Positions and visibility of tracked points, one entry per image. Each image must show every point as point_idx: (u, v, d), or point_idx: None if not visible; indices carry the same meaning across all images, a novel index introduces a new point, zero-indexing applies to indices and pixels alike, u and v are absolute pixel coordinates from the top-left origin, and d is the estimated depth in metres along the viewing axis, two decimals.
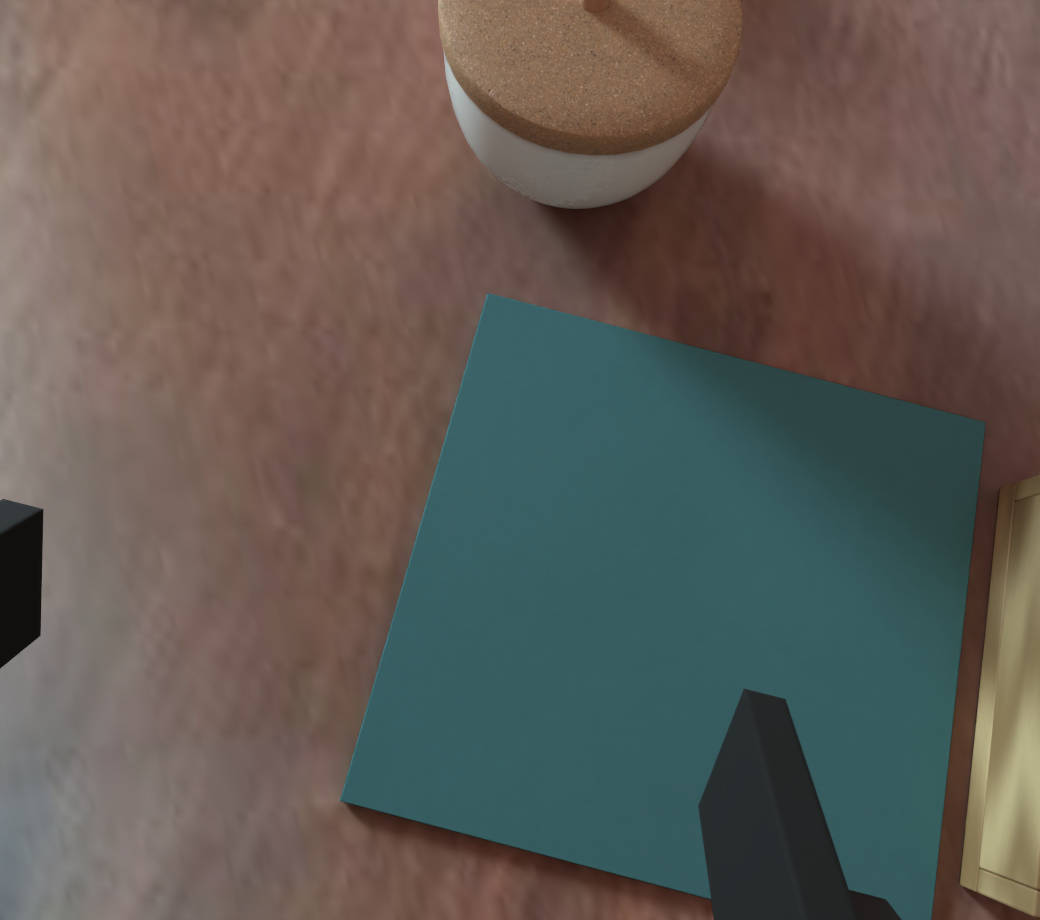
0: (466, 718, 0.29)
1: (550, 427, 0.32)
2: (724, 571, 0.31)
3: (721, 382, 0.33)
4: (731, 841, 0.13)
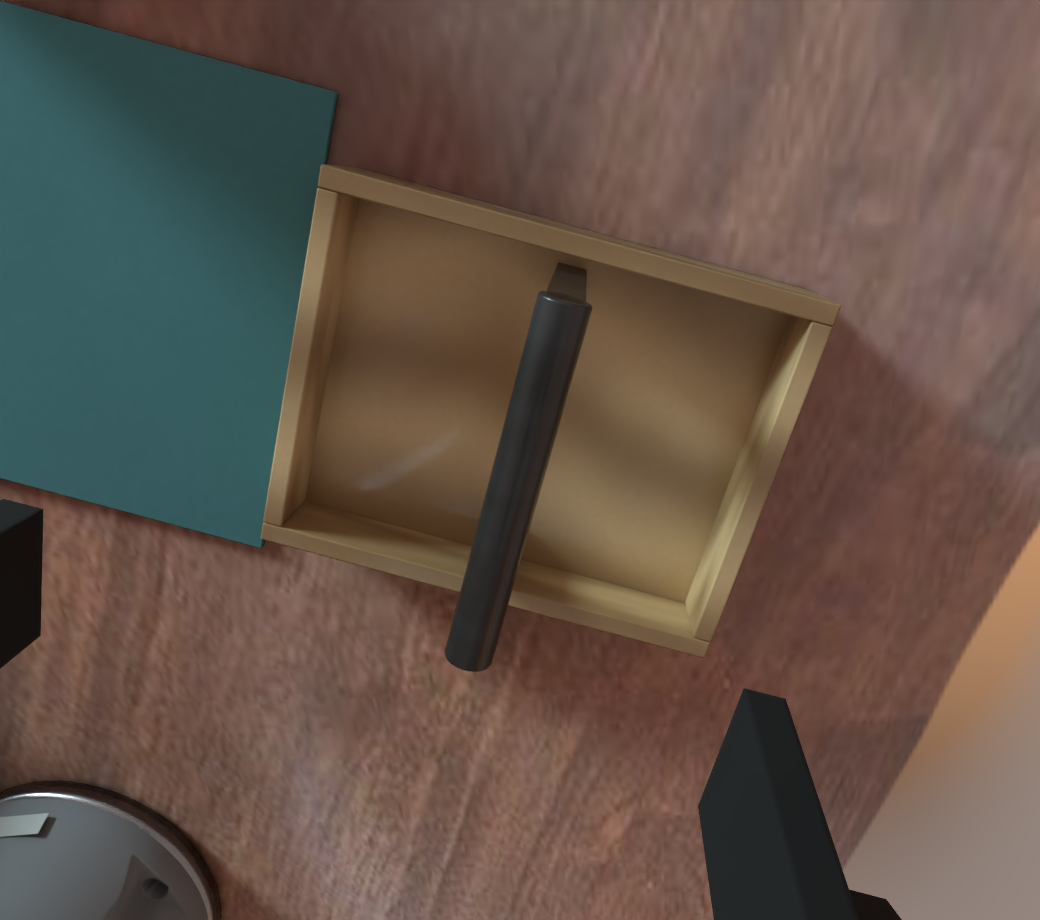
0: None
1: None
2: (83, 254, 0.34)
3: (59, 51, 0.32)
4: (731, 841, 0.13)
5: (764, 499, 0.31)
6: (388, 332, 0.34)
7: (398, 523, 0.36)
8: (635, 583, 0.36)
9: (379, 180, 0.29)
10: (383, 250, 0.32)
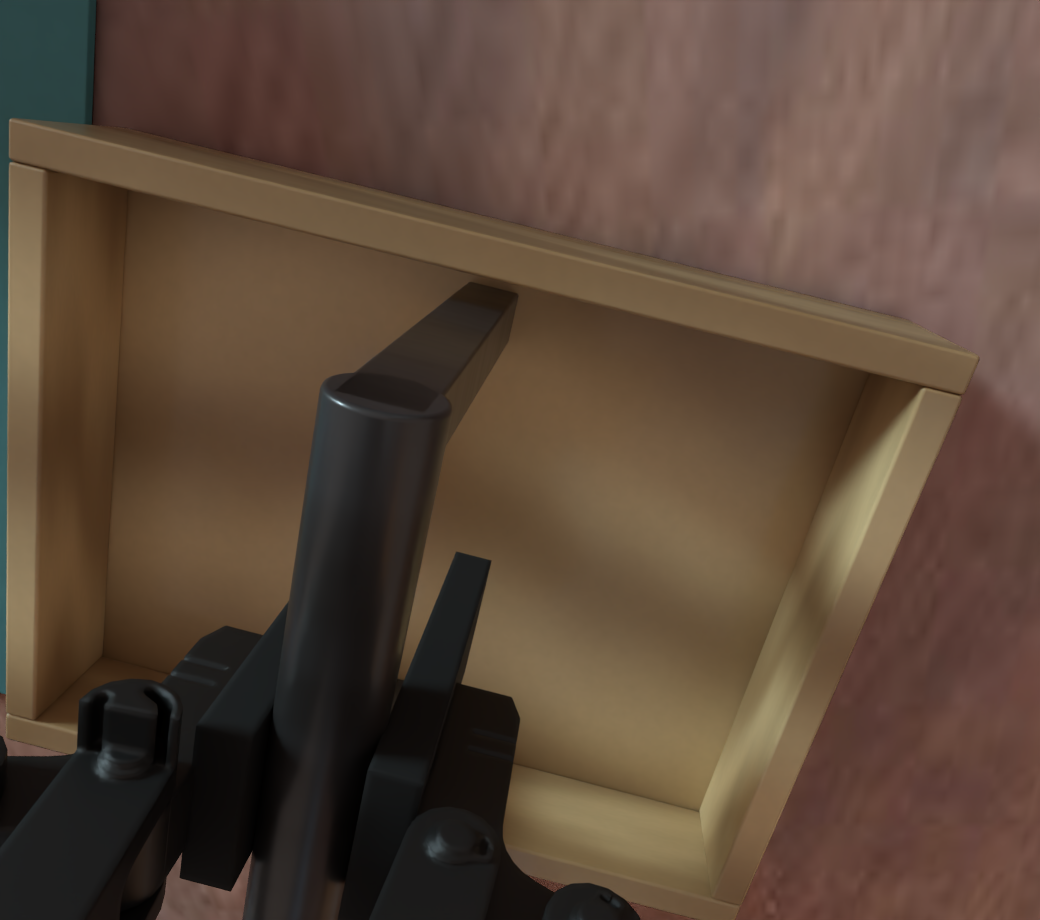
0: None
1: None
2: None
3: None
4: None
5: (832, 690, 0.18)
6: (201, 401, 0.20)
7: None
8: (619, 781, 0.23)
9: (116, 144, 0.16)
10: (178, 268, 0.19)
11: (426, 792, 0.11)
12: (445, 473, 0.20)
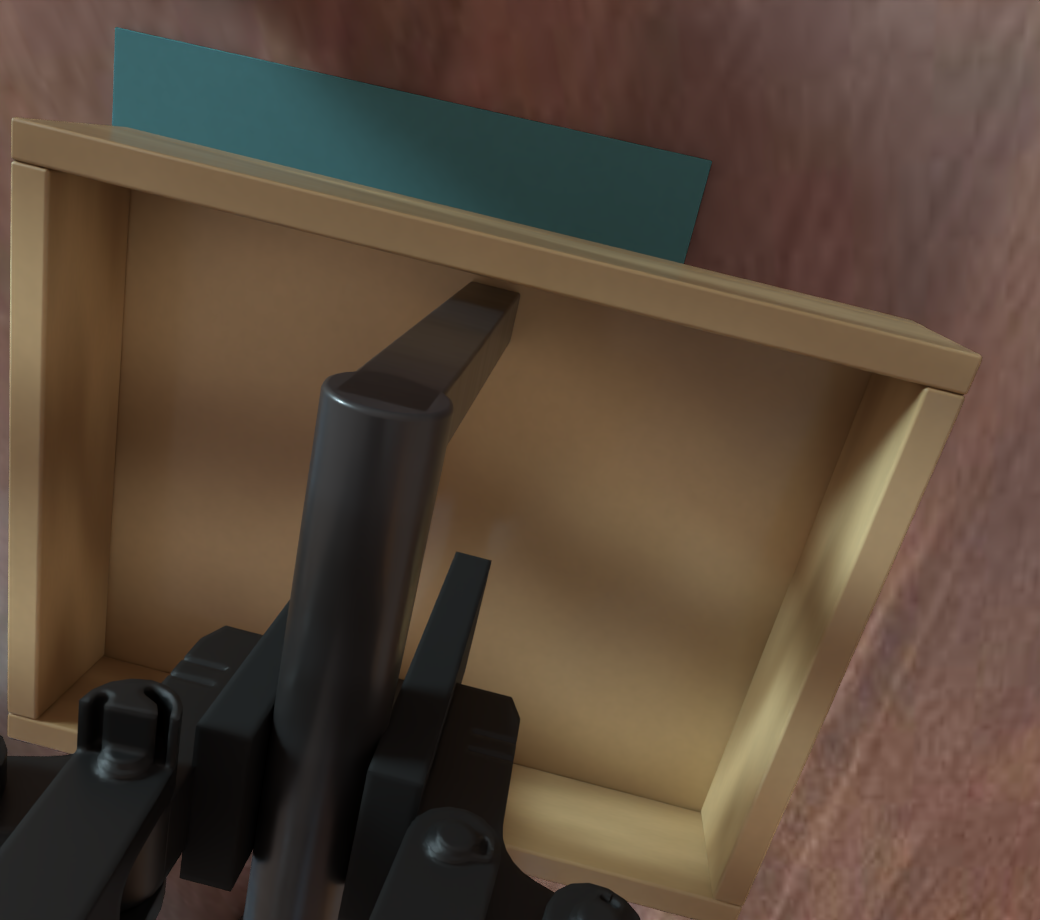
0: None
1: None
2: None
3: (394, 129, 0.28)
4: None
5: (834, 690, 0.18)
6: (203, 400, 0.20)
7: None
8: (621, 782, 0.23)
9: (118, 144, 0.16)
10: (180, 267, 0.19)
11: (426, 792, 0.11)
12: (447, 473, 0.20)
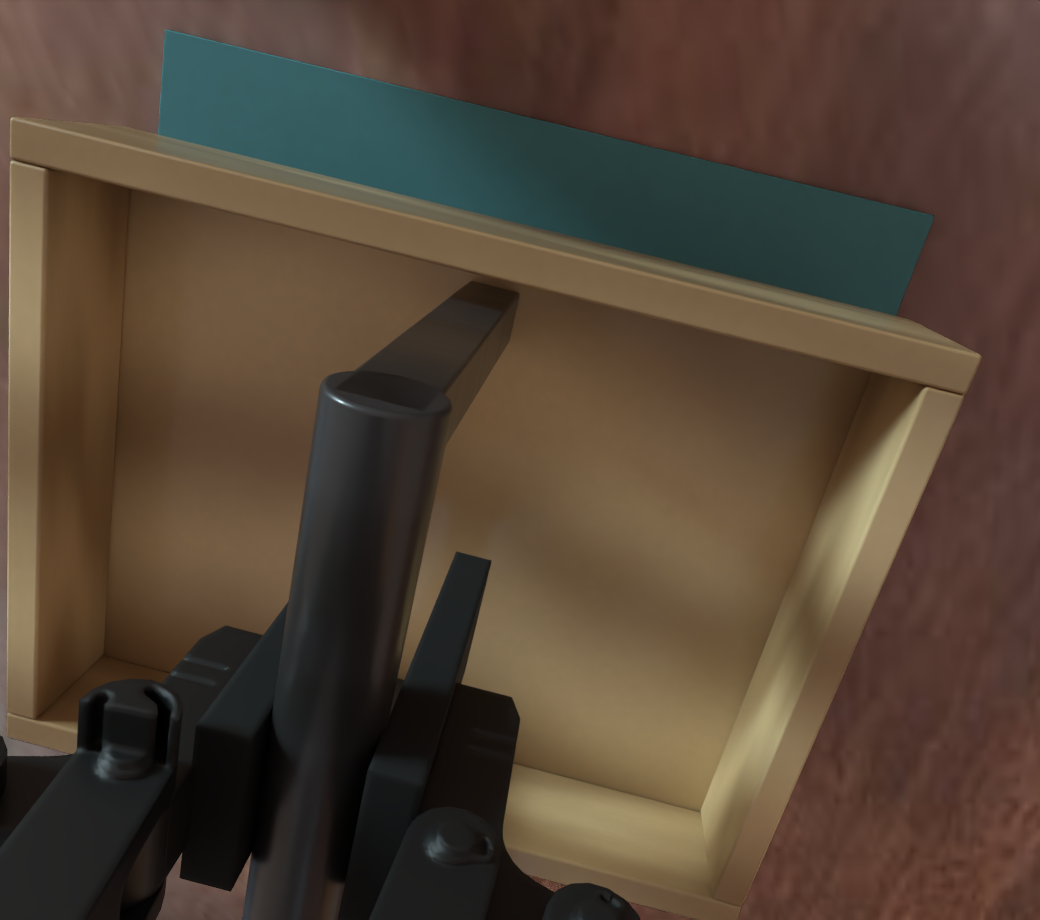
0: None
1: None
2: None
3: (521, 166, 0.22)
4: None
5: (833, 690, 0.18)
6: (202, 400, 0.20)
7: None
8: (621, 781, 0.23)
9: (117, 143, 0.16)
10: (180, 266, 0.19)
11: (426, 792, 0.11)
12: (446, 472, 0.20)
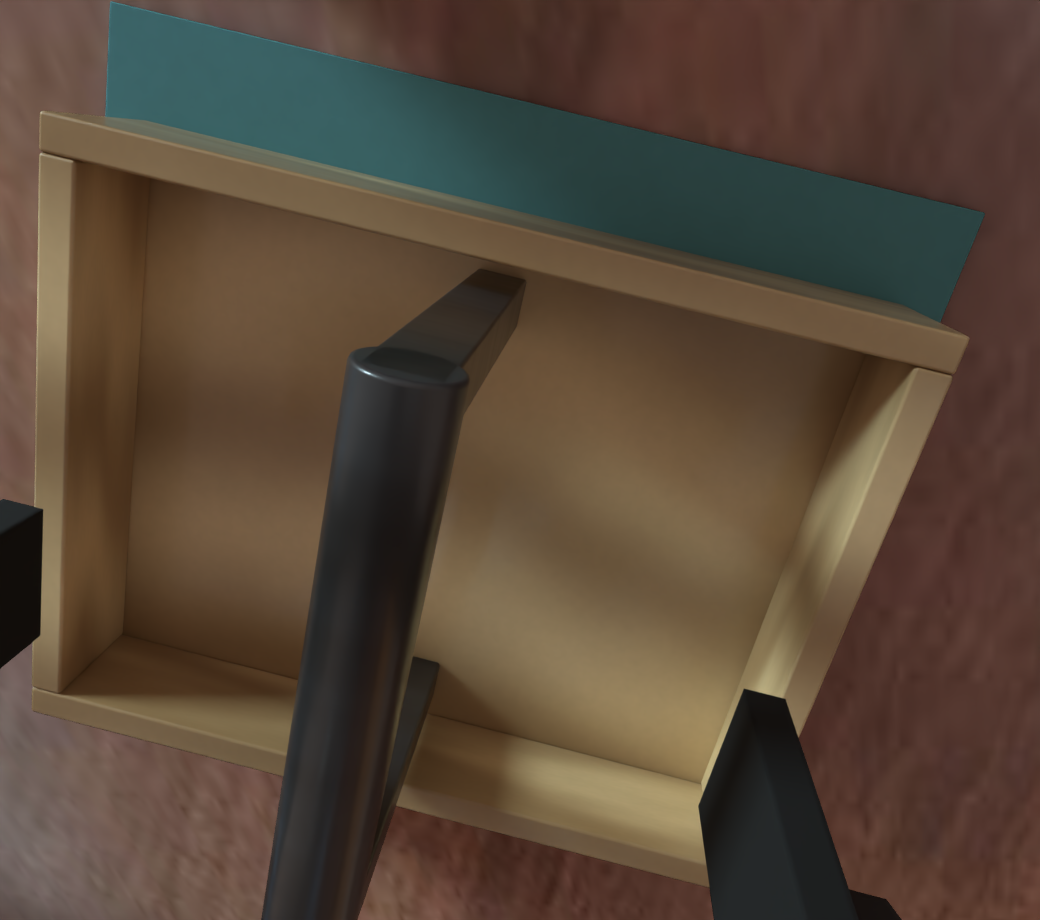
0: None
1: None
2: None
3: (515, 157, 0.19)
4: (731, 841, 0.13)
5: (829, 660, 0.19)
6: (220, 384, 0.21)
7: (263, 666, 0.24)
8: (624, 754, 0.24)
9: (142, 136, 0.16)
10: (198, 256, 0.20)
11: None
12: (455, 454, 0.21)
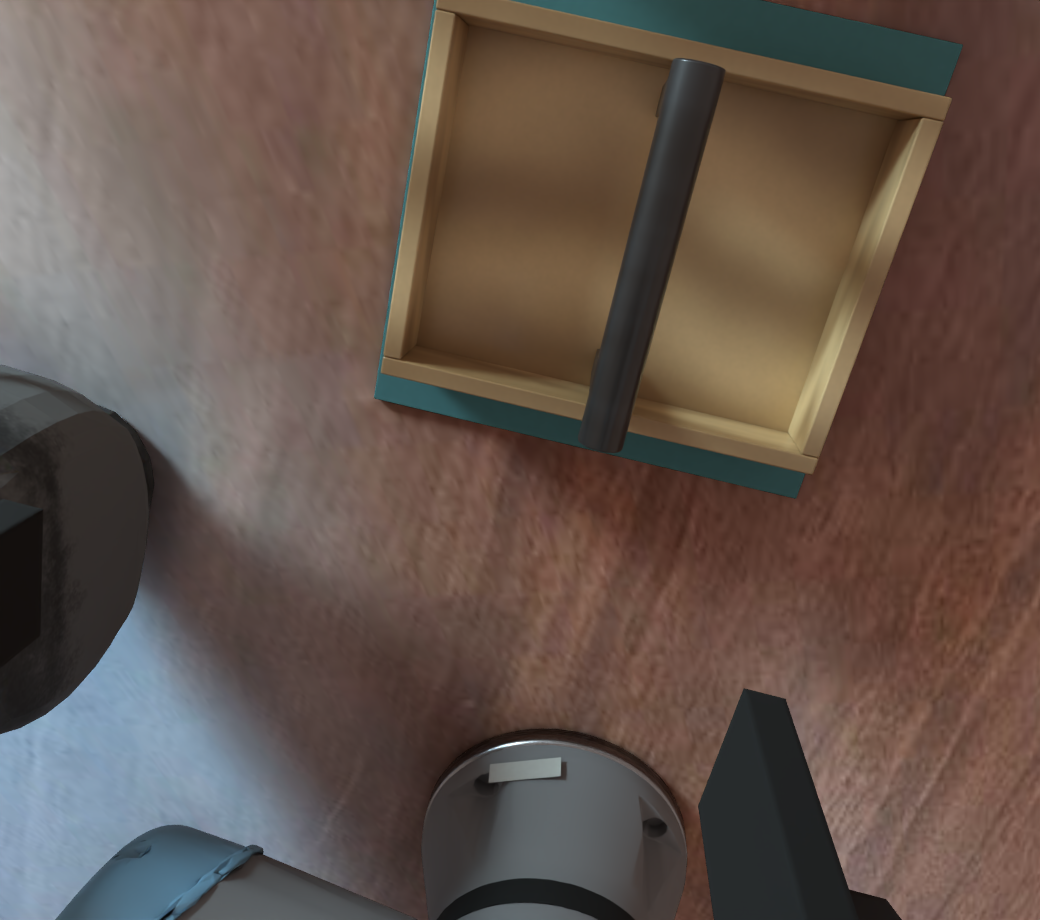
0: None
1: None
2: None
3: (683, 19, 0.33)
4: (731, 841, 0.13)
5: (873, 306, 0.32)
6: (497, 168, 0.35)
7: (506, 364, 0.38)
8: (738, 414, 0.37)
9: None
10: (491, 84, 0.34)
11: None
12: None
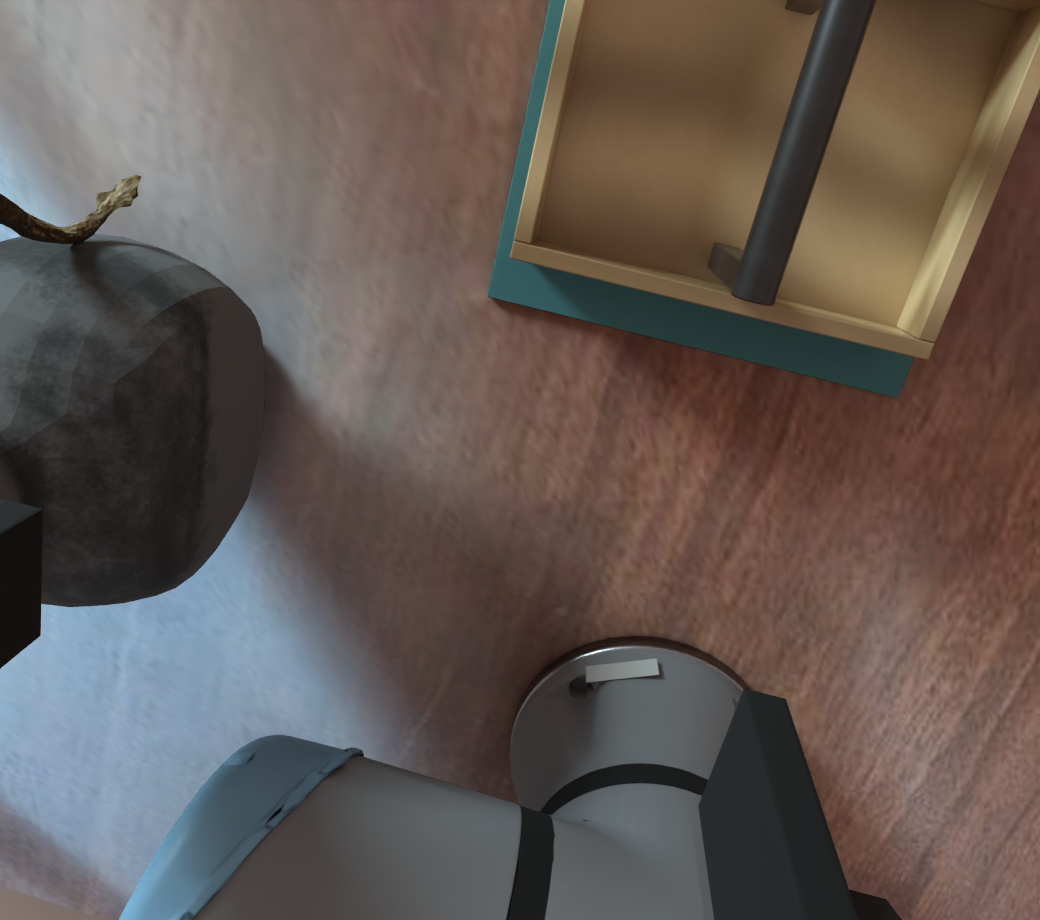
0: None
1: None
2: None
3: None
4: (731, 841, 0.13)
5: (997, 189, 0.33)
6: (626, 60, 0.36)
7: (624, 258, 0.39)
8: (849, 309, 0.38)
9: None
10: None
11: None
12: (765, 101, 0.36)
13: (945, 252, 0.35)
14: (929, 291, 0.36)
